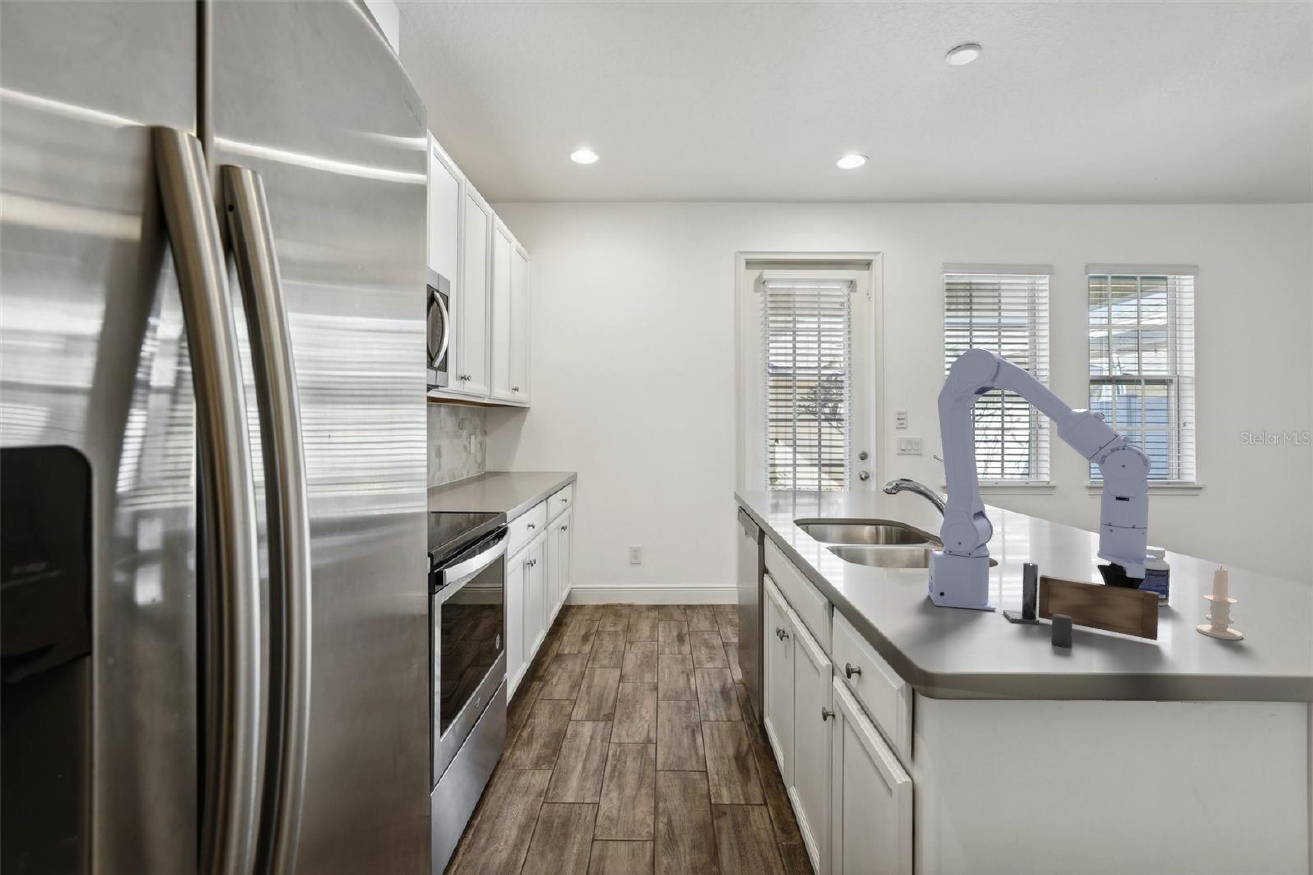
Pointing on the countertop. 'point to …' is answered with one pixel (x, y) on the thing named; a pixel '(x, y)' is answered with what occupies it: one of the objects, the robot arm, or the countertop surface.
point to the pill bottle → (1157, 575)
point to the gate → (1100, 606)
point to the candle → (1220, 610)
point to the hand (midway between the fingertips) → (1119, 614)
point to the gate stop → (1062, 630)
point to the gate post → (1027, 597)
